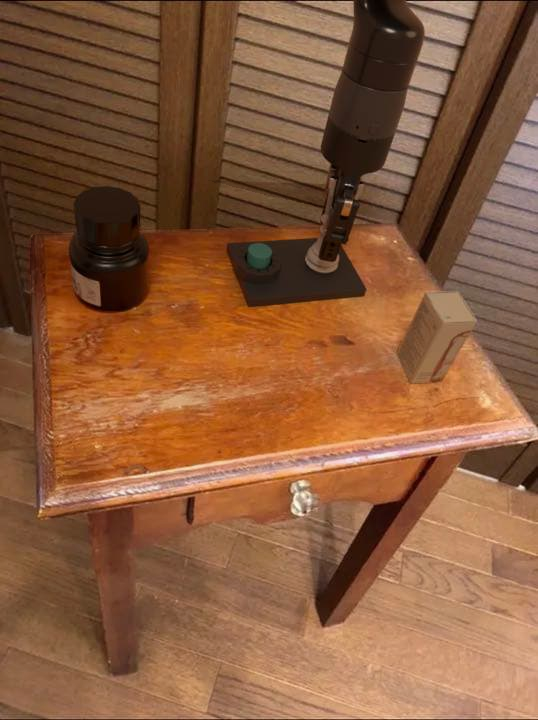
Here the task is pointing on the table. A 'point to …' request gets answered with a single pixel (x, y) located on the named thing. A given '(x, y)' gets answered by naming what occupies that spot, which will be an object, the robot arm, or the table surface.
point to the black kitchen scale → (292, 275)
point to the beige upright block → (435, 336)
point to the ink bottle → (108, 250)
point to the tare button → (259, 255)
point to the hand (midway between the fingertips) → (327, 240)
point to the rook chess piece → (313, 254)
